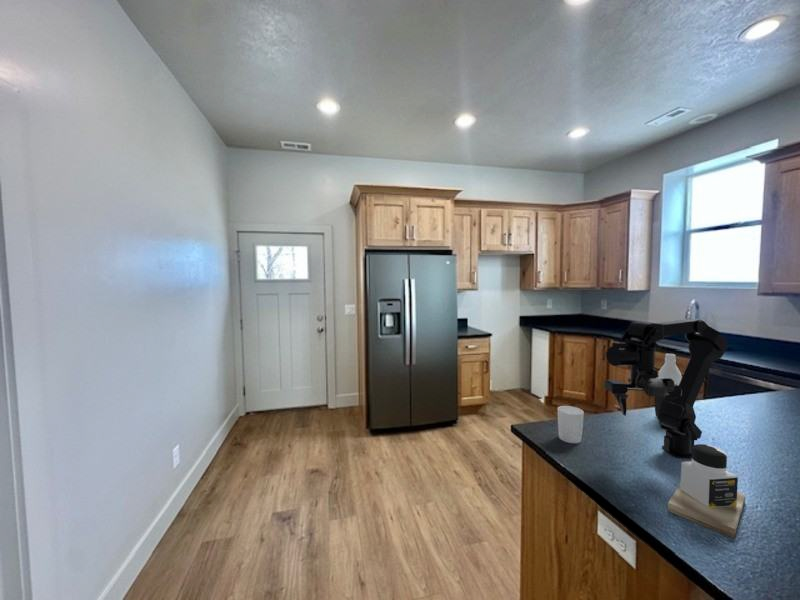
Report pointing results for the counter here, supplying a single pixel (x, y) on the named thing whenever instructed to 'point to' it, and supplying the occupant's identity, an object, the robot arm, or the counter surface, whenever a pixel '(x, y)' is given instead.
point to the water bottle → (670, 369)
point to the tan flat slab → (707, 512)
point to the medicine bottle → (709, 477)
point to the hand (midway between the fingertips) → (640, 415)
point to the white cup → (570, 424)
